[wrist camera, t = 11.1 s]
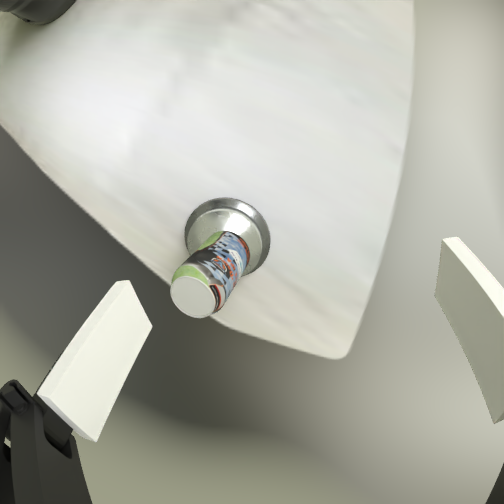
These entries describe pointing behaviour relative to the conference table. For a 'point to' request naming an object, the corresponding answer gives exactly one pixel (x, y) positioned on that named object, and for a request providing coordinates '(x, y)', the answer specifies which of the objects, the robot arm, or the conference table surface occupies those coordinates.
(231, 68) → the conference table surface
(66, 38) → the conference table surface
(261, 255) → the bowl
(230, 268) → the beverage can
